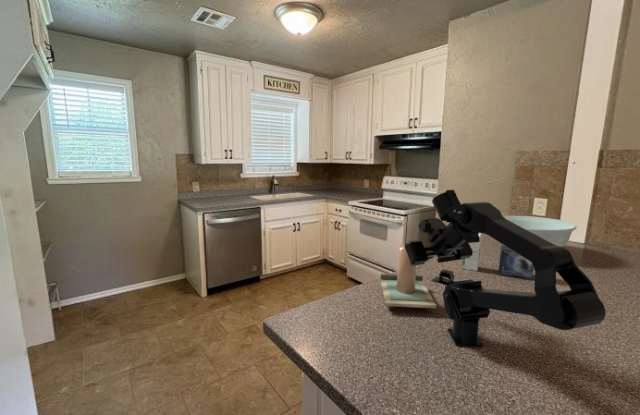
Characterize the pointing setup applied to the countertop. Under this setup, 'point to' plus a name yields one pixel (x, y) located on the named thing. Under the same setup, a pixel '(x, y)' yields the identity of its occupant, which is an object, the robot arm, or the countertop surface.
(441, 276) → the dark piece
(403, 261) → the canister
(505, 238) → the robot arm
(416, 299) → the mint green tray
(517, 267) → the small box
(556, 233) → the bowl
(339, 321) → the countertop surface
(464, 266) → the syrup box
